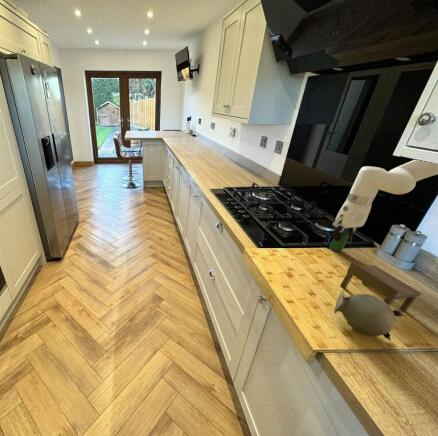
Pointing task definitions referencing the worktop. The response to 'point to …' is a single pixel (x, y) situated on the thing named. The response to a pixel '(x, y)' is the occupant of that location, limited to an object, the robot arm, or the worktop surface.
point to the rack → (382, 284)
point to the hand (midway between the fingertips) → (340, 238)
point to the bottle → (340, 242)
